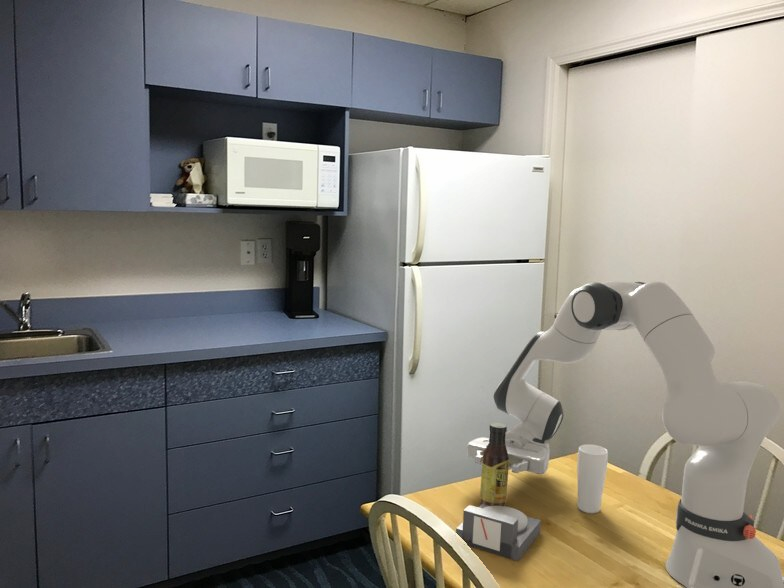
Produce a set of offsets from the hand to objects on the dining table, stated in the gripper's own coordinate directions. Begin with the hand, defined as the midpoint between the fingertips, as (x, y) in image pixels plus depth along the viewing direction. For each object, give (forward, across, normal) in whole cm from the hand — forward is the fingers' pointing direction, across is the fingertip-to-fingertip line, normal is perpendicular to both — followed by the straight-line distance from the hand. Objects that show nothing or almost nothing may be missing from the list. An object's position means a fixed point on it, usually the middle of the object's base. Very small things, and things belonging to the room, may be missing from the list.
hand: (495, 465), depth 160 cm
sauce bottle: (0, 0, +10) cm, 10 cm away
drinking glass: (-11, +20, +10) cm, 25 cm away
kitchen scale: (+14, +7, +10) cm, 19 cm away
